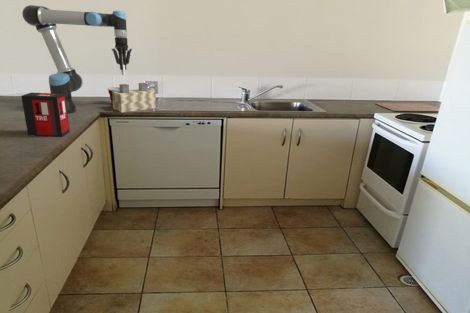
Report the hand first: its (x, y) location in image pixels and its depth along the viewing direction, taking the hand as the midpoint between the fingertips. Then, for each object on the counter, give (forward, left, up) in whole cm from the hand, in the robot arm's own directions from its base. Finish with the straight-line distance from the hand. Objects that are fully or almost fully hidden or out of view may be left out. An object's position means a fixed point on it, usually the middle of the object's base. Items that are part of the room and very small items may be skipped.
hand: (123, 74), depth 221 cm
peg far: (+14, 0, -15) cm, 21 cm away
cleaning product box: (-57, -30, -24) cm, 69 cm away
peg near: (0, 0, -15) cm, 15 cm away
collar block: (+7, 0, -23) cm, 24 cm away
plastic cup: (+2, +18, -24) cm, 30 cm away
